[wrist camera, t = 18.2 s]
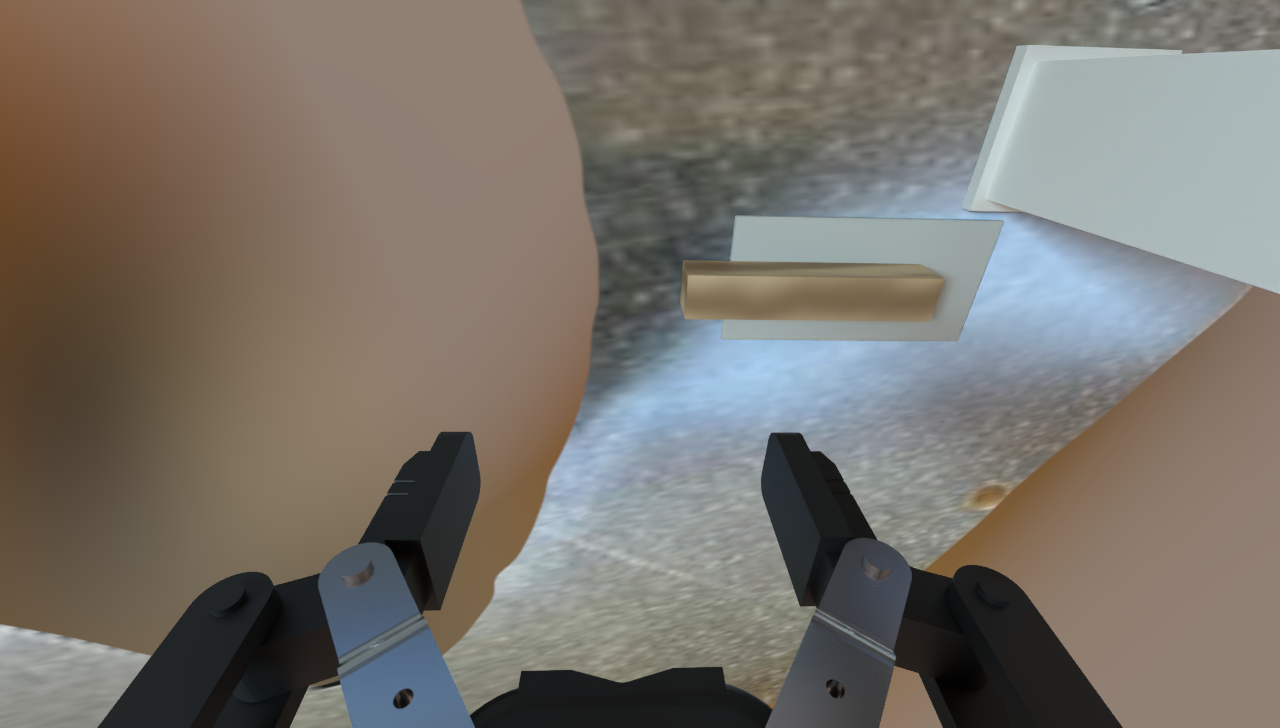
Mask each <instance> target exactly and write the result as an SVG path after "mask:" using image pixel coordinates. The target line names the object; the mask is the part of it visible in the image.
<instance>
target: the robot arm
mask: <svg viewBox="0 0 1280 728" xmlns="http://www.w3.org/2000/svg"><path fill="white" fill-rule="evenodd" d="M761 489H762V495H763V499H764V502H765V505H766V508H767V511H768V514H769V517H770V520H771V523H772V525H773V528H774V531H775V534H776V537H777V540H778V543H779V546H780V549H781V552H782V555H783V558H784V561H785V564H786V566H787V569H788V572H789V575H790V578H791V581H792V584H793V587H794V590H795V593H796V596H797V599H798V602H799V605H800V606H816V608H817V610H816V611H815V613H814V615H813V617H812V619H811V622H810V624H809V626H808V629H807V631H806V633H805V636H804V638H803V640H802V643H801V645H800V647H799V650H798V652H797V654H796V657H795V659H794V661H793V664H792V666H791V668H790V671H789V673H788V675H787V678H786V680H785V682H784V685H783V687H782V689H781V692H780V694H779V696H778V699H777V701H776V703H775V706H774V708H773V709H772V708H770V707H769V706H768V705H767V704H765V703H764V702H763V701H761V700H760V699H758V698H757V697H755V696H753V695H752V694H750V693H748V692H746V691H744V690H742V689H739V688H737V687H734V686H732V685H728V684H725V680H724V674H723V668H722V667H697V668H672V669H669V670H665V671H662V672H659V673H656V674H652V675H649V676H646V677H643V678H639V679H636V680H633V681H629V682H625V683H620V682H615V681H611V680H607V679H604V678H600V677H596V676H592V675H588V674H585V673H581V672H577V671H573V670H549V671H521V676H520V682H519V688H517V689H514V690H511V691H508V692H506V693H504V694H502V695H499V696H497V697H496V698H494V699H492V700H491V701H489V702H487V703H486V704H484V705H483V706H481V707H480V708H479V709H477V710H476V711H475V712H473V713H472V714H471V715H470V716H469V714H468V711H467V709H466V707H465V705H464V703H463V700H462V698H461V696H460V694H459V692H458V689H457V687H456V685H455V683H454V681H453V679H452V676H451V674H450V672H449V670H448V668H447V665H446V663H445V661H444V659H443V657H442V654H441V652H440V650H439V648H438V646H437V644H436V641H435V639H434V637H433V635H432V633H431V630H430V628H429V626H428V624H427V622H426V620H425V618H424V617H423V616H422V614H423V611H424V610H440V609H441V606H442V603H443V600H444V598H445V594H446V592H447V589H448V586H449V583H450V580H451V577H452V574H453V571H454V568H455V565H456V562H457V559H458V557H459V554H460V551H461V548H462V545H463V542H464V539H465V536H466V533H467V530H468V527H469V524H470V521H471V519H472V516H473V513H474V510H475V507H476V504H477V501H478V498H479V493H480V472H479V467H478V461H477V455H476V450H475V444H474V439H473V435H472V433H471V432H441V433H440V434H439V435H438V437H437V439H436V441H435V442H434V444H433V447H432V448H431V450H430V451H419V452H418V453H416V454H415V455H414V456H413V457H412V458H411V459H409V460H408V461H407V462H406V463H405V464H404V465H403V466H402V468H401V470H400V471H399V474H398V475H397V477H396V478H395V482H394V483H393V484H392V486H391V487H390V489H389V491H388V493H387V496H385V498H384V500H383V501H382V503H381V505H380V507H379V508H378V510H377V512H376V514H375V516H374V517H373V519H372V521H371V522H370V525H369V526H368V528H367V529H366V531H365V533H364V535H363V537H362V538H361V540H360V542H359V543H358V545H355V546H352V547H350V548H348V549H346V550H344V551H342V552H341V553H339V554H338V555H336V556H335V557H334V558H333V559H332V560H330V561H329V562H328V563H327V565H326V566H325V567H324V569H323V570H322V572H321V573H319V574H316V575H313V576H309V577H306V578H302V579H298V580H294V581H291V582H287V583H283V584H279V585H276V586H274V585H273V583H272V581H271V580H270V578H269V577H268V576H267V575H265V574H263V573H259V572H245V573H241V574H236V575H233V576H231V577H228V578H226V579H224V580H221V581H220V582H218V583H216V584H214V585H213V586H211V587H210V588H208V589H207V590H206V591H204V592H203V593H202V594H200V595H199V596H198V597H197V598H196V599H195V600H194V601H193V602H192V604H191V605H190V606H189V607H188V609H187V610H186V611H185V613H184V614H183V615H182V617H181V618H180V619H179V621H178V622H177V623H176V625H175V626H174V627H173V629H172V630H171V631H170V633H169V634H168V635H167V637H166V638H165V639H164V640H163V642H162V643H161V645H160V646H159V647H158V648H157V650H156V651H155V652H154V654H153V655H152V656H151V658H150V659H149V660H148V662H147V663H146V664H145V666H144V667H143V668H142V670H141V671H140V672H139V674H138V675H137V676H136V678H135V679H134V680H133V681H132V683H131V684H130V685H129V687H128V688H127V689H126V691H125V692H124V693H123V695H122V696H121V697H120V699H119V700H118V701H117V703H116V704H115V705H114V707H113V708H112V709H111V711H110V712H109V713H108V715H107V716H106V717H105V719H104V720H103V721H102V723H101V724H100V725H99V726H98V728H290V725H291V723H292V721H293V719H294V717H295V715H296V712H297V710H298V708H299V706H300V704H301V701H302V699H303V697H304V695H305V693H306V691H307V688H308V686H309V685H311V684H314V683H317V682H320V681H323V680H326V679H329V678H332V677H335V676H338V675H339V679H340V683H341V687H342V690H343V694H344V698H345V701H346V705H347V709H348V712H349V716H350V720H351V723H352V727H353V728H879V725H880V721H881V717H882V713H883V709H884V705H885V701H886V697H887V693H888V689H889V685H890V681H891V677H892V673H893V669H894V666H897V667H900V668H904V669H907V670H911V671H914V672H917V673H919V675H920V677H921V679H922V682H923V684H924V686H925V688H926V691H927V693H928V695H929V697H930V700H931V702H932V704H933V706H934V708H935V711H936V713H937V715H938V718H939V720H940V722H941V724H942V726H943V728H1123V727H1122V726H1121V725H1120V723H1119V722H1118V721H1117V719H1116V718H1115V716H1114V715H1113V714H1112V712H1111V711H1110V709H1109V708H1108V707H1107V705H1106V704H1105V703H1104V701H1103V700H1102V699H1101V697H1100V696H1099V694H1098V693H1097V692H1096V690H1095V689H1094V688H1093V686H1092V685H1091V683H1090V682H1089V681H1088V679H1087V678H1086V676H1085V675H1084V674H1083V672H1082V671H1081V670H1080V668H1079V667H1078V665H1077V664H1076V663H1075V661H1074V660H1073V658H1072V657H1071V656H1070V655H1069V653H1068V652H1067V650H1066V649H1065V647H1064V646H1063V645H1062V643H1061V642H1060V641H1059V639H1058V638H1057V636H1056V635H1055V634H1054V632H1053V631H1052V629H1051V628H1050V627H1049V625H1048V624H1047V623H1046V621H1045V620H1044V619H1043V617H1042V616H1041V615H1040V613H1039V612H1038V610H1037V609H1036V607H1035V606H1034V605H1033V603H1032V602H1031V600H1030V599H1029V598H1028V596H1027V595H1026V594H1025V593H1024V591H1023V590H1022V589H1021V588H1020V587H1019V586H1018V585H1017V584H1015V583H1014V582H1013V581H1012V580H1010V579H1009V578H1007V577H1006V576H1004V575H1003V574H1001V573H999V572H997V571H995V570H992V569H989V568H987V567H982V566H978V565H967V566H963V567H961V568H959V569H958V570H957V571H956V573H955V575H954V576H953V578H949V577H945V576H942V575H937V574H934V573H930V572H926V571H922V570H919V569H916V568H913V567H910V566H909V565H908V563H907V561H906V560H905V559H904V557H903V556H902V555H901V554H900V553H899V552H898V551H896V550H895V549H894V548H892V547H891V546H889V545H887V544H885V543H883V542H881V541H878V540H877V538H876V537H875V535H874V533H873V531H872V529H871V528H870V526H869V524H868V522H867V520H866V519H865V517H864V515H863V513H862V512H861V510H860V508H859V506H858V504H857V503H856V501H855V499H854V497H853V495H851V494H850V490H849V488H848V487H847V485H846V483H845V482H844V481H843V478H842V476H841V474H840V472H839V470H838V469H837V467H836V465H835V464H834V463H833V462H832V461H831V460H829V459H828V458H827V457H826V456H825V455H824V454H823V453H821V452H820V451H810V450H809V448H808V446H807V444H806V442H805V440H804V438H803V436H802V435H801V434H800V433H771V434H770V436H769V440H768V445H767V450H766V455H765V460H764V465H763V470H762V476H761Z"/></svg>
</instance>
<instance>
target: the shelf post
mask: <svg viewBox="0 0 1280 728" xmlns="http://www.w3.org/2000/svg"><path fill="white" fill-rule="evenodd" d="M1182 51H1183V50H1157V49H1128V48H1099V47H1070V46H1041V45H1023V46H1017V47H1016V50H1015V53H1014V56H1013V59H1012V62H1011V65H1010V68H1009V71H1008V73H1007V76H1006V79H1005V82H1004V85H1003V88H1002V91H1001V94H1000V97H999V100H998V103H997V106H996V108H995V111H994V114H993V117H992V120H991V123H990V126H989V129H988V132H987V135H986V138H985V141H984V143H983V146H982V149H981V152H980V155H979V158H978V161H977V164H976V167H975V170H974V173H973V176H972V178H971V181H970V184H969V187H968V190H967V193H966V196H965V199H964V202H963V205H962V208H963V209H966V210H969V211H999V212H1027V213H1030V214H1033V215H1036V216H1039V217H1042V218H1046V219H1049V220H1052V221H1055V222H1058V223H1061V224H1064V225H1067V226H1070V227H1073V228H1077V229H1080V230H1083V231H1086V232H1089V233H1092V234H1095V235H1098V236H1101V237H1105V238H1108V239H1111V240H1114V241H1117V242H1120V243H1123V244H1126V245H1129V246H1132V247H1136V248H1139V249H1142V250H1145V251H1148V252H1151V253H1154V254H1157V255H1160V256H1164V257H1167V258H1170V259H1173V260H1176V261H1179V262H1182V263H1185V264H1188V265H1191V266H1195V267H1198V268H1201V269H1204V270H1207V271H1210V272H1213V273H1216V274H1219V275H1223V276H1226V277H1229V278H1232V279H1235V280H1238V281H1241V282H1244V283H1247V284H1250V285H1254V286H1257V287H1260V288H1263V289H1266V290H1269V291H1272V292H1276V293H1278V294H1280V49H1276V50H1256V51H1236V52H1215V53H1195V54H1181V53H1182Z"/></svg>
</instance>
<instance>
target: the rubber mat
mask: <svg viewBox="0 0 1280 728" xmlns="http://www.w3.org/2000/svg"><path fill="white" fill-rule="evenodd" d="M1003 222H1004V221H1002V220H967V219H914V218H861V217H808V216H754V215H735V223H734V231H733V239H732V248H731V256H730V261H762V262H824V263H887V264H921V265H922V266H924V267H926V268H927V269H929V270H931V271H932V272H934V273H936V274H937V275H939V276H940V277H942V278H944V279H945V280H944V283H943V285H942V288H941V291H940V294H939V297H938V300H937V302H936V305H935V308H934V311H933V314H932V317H931V319H930V322H907V321H816V320H724V319H723V322H722V331H721V339H723V340H848V341H957V340H958V337H959V335H960V332H961V330H962V327H963V325H964V322H965V320H966V317H967V314H968V312H969V309H970V307H971V304H972V302H973V299H974V296H975V294H976V291H977V289H978V286H979V284H980V281H981V279H982V276H983V273H984V271H985V268H986V266H987V263H988V261H989V258H990V256H991V253H992V250H993V248H994V245H995V243H996V240H997V238H998V235H999V232H1000V230H1001V227H1002V225H1003Z"/></svg>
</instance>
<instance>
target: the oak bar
mask: <svg viewBox="0 0 1280 728" xmlns="http://www.w3.org/2000/svg"><path fill="white" fill-rule="evenodd" d="M944 280H945V279H944V278H942V277H940V276H939V275H937V274H936V273H934V272H932V271H931V270H929V269H927V268H926V267H924V266H922V265H921V264H887V263H824V262H762V261H700V260H683V268H682V282H681V296H680V303H681V307H682V310H683V314H684V318H685V319H724V320H816V321H907V322H930V319H931V317H932V314H933V311H934V308H935V305H936V302H937V300H938V297H939V294H940V291H941V288H942V285H943V283H944Z"/></svg>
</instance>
